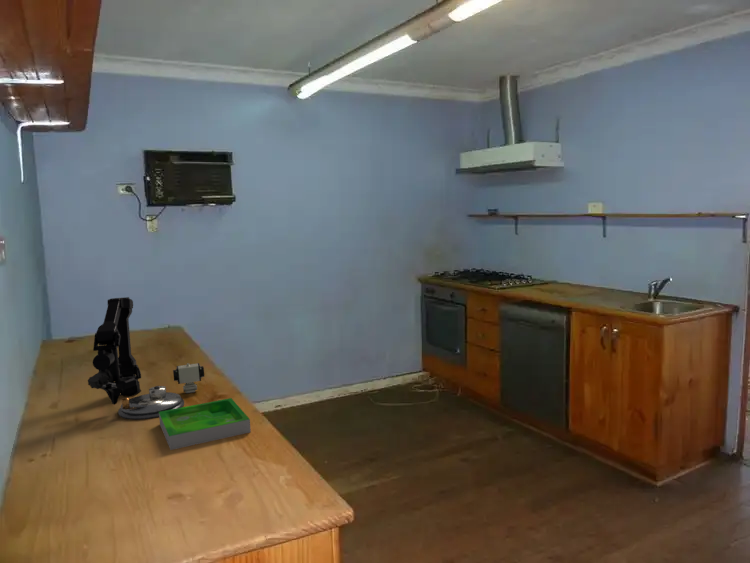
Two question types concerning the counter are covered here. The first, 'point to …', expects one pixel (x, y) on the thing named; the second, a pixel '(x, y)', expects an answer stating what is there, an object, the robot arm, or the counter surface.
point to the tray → (203, 423)
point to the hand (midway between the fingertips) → (114, 404)
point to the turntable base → (148, 416)
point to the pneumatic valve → (189, 376)
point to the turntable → (149, 404)
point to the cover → (157, 392)
